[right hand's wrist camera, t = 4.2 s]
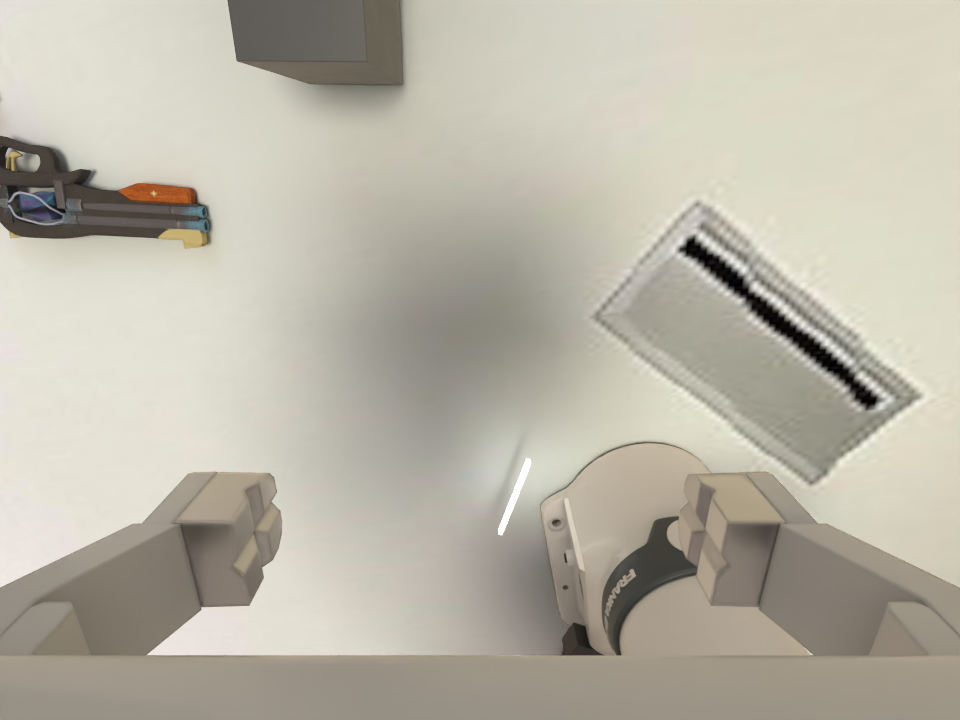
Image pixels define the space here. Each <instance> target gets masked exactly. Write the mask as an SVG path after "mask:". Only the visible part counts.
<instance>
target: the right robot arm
mask: <svg viewBox="0 0 960 720" xmlns="http://www.w3.org/2000/svg"><path fill="white" fill-rule="evenodd" d="M530 465H531V462H530V459H526V462H525V464H524V467H523V469H522V472H521V474H520V477H519V479H518V482H517V484H516V487H515V489H514V492H513V494H512V497H511V499H510V502H509V504H508V507H507V509H506V512H505V514H504V517H503V519H502V522H501V524H500V527H499V534H500V535H502V534H503V532H504V529H505V527H506V524H507V522H508V519H509V517H510V514H511V512H512V509H513V507H514V504H515V502H516V499H517V497H518V495H519V492H520V490H521V487H522V485H523V482H524V480H525V477H526V475H527V472H528V470H529V467H530ZM276 493H277V489H276V484H275V480H274V477H273V476H272V475H271V474H270V473H241V472H219V473H218V472H193V473H190V474H188V475H187V476H186V477H185V478H184V479H183V480H182V481H181V482H180V483H179V484H178V485H177V486H176V488H175V489H174V490H173V491H172V492H171V493H170V494H169V495H168V496H167V497H166V498H165V499H164V500H163V501H162V503H161V504H160V505H159V506H158V507H157V508H156V509H155V510H154V511H153V512H152V513H151V514H150V515H149V517H148V518H147V519H146V520H145V521H144V522H143V523H142V524H132V525H130V526H128V527H126V528H124V529H121V530H119V531H117V532H115V533H113V534H111V535H109V536H107V537H105V538H103V539H101V540H99V541H96V542H94V543H92V544H90V545H88V546H86V547H84V548H82V549H80V550H78V551H76V552H74V553H71V554H69V555H67V556H65V557H63V558H61V559H59V560H57V561H55V562H53V563H51V564H49V565H46V566H44V567H42V568H40V569H38V570H36V571H34V572H32V573H30V574H28V575H26V576H24V577H22V578H19V579H17V580H15V581H13V582H11V583H9V584H7V585H5V586H3V587H1V588H0V720H960V588H959V587H957V586H955V585H953V584H951V583H949V582H946V581H944V580H942V579H940V578H938V577H936V576H934V575H932V574H930V573H928V572H926V571H924V570H922V569H919V568H917V567H915V566H913V565H911V564H909V563H907V562H905V561H903V560H901V559H899V558H897V557H895V556H892V555H890V554H888V553H886V552H884V551H882V550H880V549H878V548H876V547H874V546H872V545H870V544H868V543H866V542H863V541H861V540H859V539H857V538H855V537H853V536H851V535H849V534H847V533H845V532H843V531H841V530H839V529H836V528H834V527H832V526H830V525H828V524H818V523H817V522H816V521H815V520H814V519H813V518H812V517H811V515H810V514H809V513H808V512H807V511H806V510H805V509H804V508H803V507H802V506H801V505H800V504H799V503H798V501H797V500H796V499H795V498H794V497H793V496H792V495H791V494H790V493H789V492H788V491H787V490H786V489H785V487H784V486H783V485H782V484H781V483H780V482H779V481H778V480H777V479H776V478H775V477H774V476H773V475H772V474H770V473H768V472H740V473H710V471H709V470H708V469H707V467H706V466H705V465H704V464H703V463H702V462H701V461H700V460H699V459H698V458H696V457H695V456H693V455H692V454H690V453H688V452H686V451H684V450H682V449H680V448H677V447H674V446H670V445H665V444H657V443H643V444H635V445H629V446H625V447H622V448H619V449H616V450H613V451H611V452H609V453H607V454H605V455H603V456H601V457H599V458H598V459H596V460H595V461H593V462H592V463H591V464H589V465H588V466H587V467H586V468H585V469H584V470H583V471H582V472H581V473H580V474H579V475H578V477H577V478H576V479H575V480H574V481H573V482H572V483H571V484H570V485H569V486H568V487H567V488H565V489H563V490H561V491H559V492H558V493H556V494H554V495H552V496H550V497H549V498H547V499H546V500H545V501H544V502H543V503H542V505H541V515H542V521H543V526H544V532H545V537H546V542H547V548H548V553H549V559H550V564H551V570H552V575H553V580H554V586H555V591H556V597H557V602H558V607H559V612H560V615H561V618H562V620H563V622H565V623H566V624H568V625H570V628H569V629H568V631H567V632H566V634H565V635H564V637H563V638H562V642H563V648H564V654H563V655H562V656H469V655H179V656H163V655H147V654H148V653H149V652H150V651H152V650H153V649H154V648H155V647H157V646H158V645H159V644H160V643H161V642H163V641H164V640H165V639H166V638H167V637H169V636H170V635H171V634H172V633H174V632H175V631H176V630H177V629H178V628H180V627H181V626H182V625H183V624H185V623H186V622H187V621H188V620H189V619H191V618H192V617H193V616H194V615H196V614H197V613H198V612H199V611H200V610H201V607H221V606H249V605H250V603H251V601H252V599H253V597H254V596H255V594H256V592H257V590H258V588H259V586H260V584H261V582H262V580H263V578H264V576H263V570H262V567H263V566H265V565H266V564H268V563H269V562H271V561H272V560H273V559H274V557H275V555H276V553H277V550H278V548H279V544H280V539H281V535H282V519H281V512H280V510H279V509H278V508H277V507H276V506H275V505H274V504H273V503H272V502H271V501H272V500H273V498H274V496H275V494H276ZM555 519H558V520H559V521H557V522H553V520H555ZM803 646H804V647H805V648H806V649H807V650H809V651H810V652H811V653H812V654H813V655H809V653H808V652H807V651H806V649H805V648H804V647H803Z"/></svg>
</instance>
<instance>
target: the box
mask: <svg viewBox="0 0 960 720" xmlns="http://www.w3.org/2000/svg"><path fill="white" fill-rule="evenodd" d="M228 6H229V12H230V19H231V25H232V32H233V39H234V45H235V52H236V59H237V61H238V62H242V63H245V64H248V65H251V66H254V67H258V68H261V69H264V70H267V71H270V72H274V73H277V74H280V75H283V76H286V77H290V78H293V79H296V80H299V81H302V82H306V83H309V84H386V85H403V70H402V47H401V24H400V1H399V0H228Z"/></svg>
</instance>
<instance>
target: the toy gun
mask: <svg viewBox="0 0 960 720" xmlns="http://www.w3.org/2000/svg"><path fill="white" fill-rule="evenodd" d="M9 147H10V148H13V149H16V150H19V151H22V152H26V153H31V154H37V155H39V157H40V162H41V163H40V166H39V168H38V170H37V171H36V172H35V173H32V172H17V169H16V158H17V157H21V156H23V155H22V154H20V153H18V152H16V151H11V153H10V154H9V156H8V158H7V161H5V154H6V151H7V149H8V148H9ZM10 161H11V168H12V169H10ZM90 173H91V171H90V170H84V169H79V170H76V171H72V172H67V173H63V172H62V171H61V169H60V162H59V159H58V157H57V155H56V153H55V152H54V151H53V150H52V149H51V148H49V147H45V146H39V145H28V144H24V143H21V142H18V141H16V140H13V139H10V138H8V137H3V136H0V222H1V223H2V225H3V226H4V227H5V228H6V229H7V230H9V233H10V238H16V237H34V238H75V237H83V236H89V235H106V236H125V237H145V238H157V239H173V240H183V241H184V248H193V247H202V246H205V244H207V236H206V233H207V232H208V230H209V223H208V221H207V220H206V219H202V218H206V216H207V211H206V208H205V206H201V205H200V204H196V201H195V193H194V191H193V189H191V188H184V187H175V186H165V185H155V184H142V183H137V184H134V185H131V186H129V187H126V188H123V189H121V190H118V191H109V190H97V189H92V188H89V187H86V186H83V185H81V184H82V183H83V182H84V181H85V180H86V179H87V178H88V176H89V175H90ZM17 186H19V187H40V188H53V187H54V189H55V192H35V193H26V192H18V188H17ZM19 194H20V195H19ZM22 212H24V213H25V214H27V215H28V216H30V217H31V218H33V219H35V220H36V221H33V220H29V219H25V218H22ZM59 220H62V221H59ZM37 221H38V222H37ZM40 221H58V222H54V223H41V222H40ZM59 223H63V224H60V225H55V224H59Z"/></svg>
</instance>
